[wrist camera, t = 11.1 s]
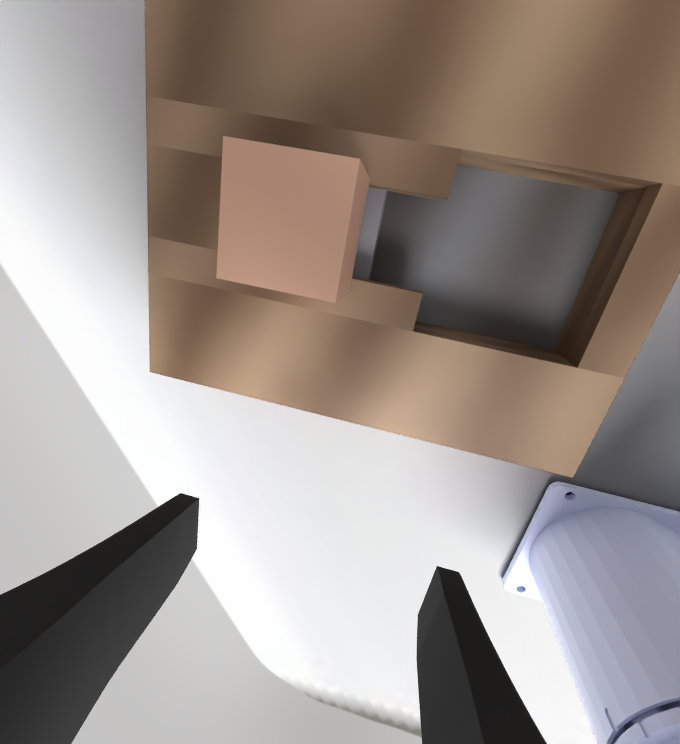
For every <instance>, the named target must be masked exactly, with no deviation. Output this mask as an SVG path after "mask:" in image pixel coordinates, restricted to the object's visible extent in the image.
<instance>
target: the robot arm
mask: <svg viewBox="0 0 680 744" xmlns="http://www.w3.org/2000/svg"><path fill="white" fill-rule="evenodd" d="M568 492H572V493H571V494H570V495H565V494H566V493H568ZM198 513H199V498H195V497H192V496H188V495H185V494H181V493H180V494H178V495H177V496H175V497H173V498H172V499H170V500H169V501H167V502H165V503H164V504H162V505H161V506H159V507H158V508H156V509H154V510H153V511H151V512H150V513H148V514H146V515H145V516H143V517H142V518H140V519H138V520H137V521H135V522H134V523H132V524H130V525H129V526H127V527H125V528H124V529H123V530H121V531H119V532H117V533H116V534H114V535H112V536H111V537H109V538H107V539H106V540H104V541H103V542H101V543H99V544H97V545H96V546H94V547H92V548H90V549H88V550H86V551H85V552H83V553H81V554H79V555H77V556H76V557H74V558H72V559H70V560H69V561H67V562H65V563H63V564H61V565H59V566H57V567H56V568H54V569H52V570H50V571H48V572H46V573H44V574H42V575H40V576H38V577H36V578H34V579H32V580H30V581H28V582H26V583H24V584H22V585H20V586H18V587H16V588H14V589H12V590H10V591H8V592H5V593H3V594H1V595H0V744H71V743H72V741H73V740H74V738H75V736H76V735H77V733H78V731H79V730H80V728H81V726H82V725H83V723H84V721H85V720H86V718H87V716H88V715H89V713H90V711H91V710H92V708H93V706H94V705H95V703H96V701H97V700H98V698H99V696H100V695H101V693H102V691H103V690H104V688H105V687H106V685H107V683H108V682H109V680H110V679H111V677H112V676H113V674H114V673H115V671H116V670H117V668H118V667H119V665H120V664H121V662H122V661H123V660H124V658H125V657H126V656H127V654H128V653H129V651H130V650H131V648H132V647H133V646H134V644H135V642H136V641H137V640H138V638H139V637H140V636H141V634H142V633H143V632H144V630H145V629H146V627H147V626H148V624H149V623H150V622H151V620H152V619H153V617H154V616H155V615H156V613H157V612H158V610H159V609H160V608H161V606H162V605H163V603H164V602H165V600H166V599H167V598H168V596H169V595H170V593H171V592H172V590H173V589H174V588H175V586H176V584H177V583H178V581H179V580H180V578H181V576H182V574H183V573H184V571H185V569H186V567H187V566H188V564H189V562H190V560H191V558H192V557H193V555H194V553H195V551H196V549H197V533H198ZM502 583H503V586H504V589H505V590H506V591H509V592H512V593H515V594H519V595H522V596H526V597H529V598H533V599H536V600H540V601H543V604H544V607H545V609H546V612H547V614H548V617H549V619H550V622H551V625H552V627H553V630H554V632H555V635H556V637H557V640H558V643H559V645H560V648H561V650H562V653H563V655H564V658H565V661H566V663H567V666H568V668H569V671H570V673H571V676H572V679H573V681H574V684H575V686H576V689H577V691H578V694H579V697H580V699H581V702H582V704H583V707H584V709H585V712H586V715H587V717H588V720H589V722H590V725H591V727H592V730H593V733H594V735H595V738H596V740H597V743H598V744H680V512H679V511H675V510H671V509H667V508H663V507H659V506H655V505H651V504H647V503H643V502H639V501H635V500H632V499H628V498H624V497H620V496H616V495H612V494H608V493H604V492H600V491H596V490H592V489H588V488H584V487H580V486H576V485H572V484H568V483H564V482H558V481H557V482H553V483H551V484H550V485H549V486H548V488H547V490H546V492H545V494H544V496H543V498H542V500H541V502H540V504H539V506H538V508H537V510H536V512H535V514H534V516H533V518H532V520H531V523H530V525H529V527H528V529H527V531H526V533H525V535H524V537H523V539H522V541H521V543H520V545H519V547H518V549H517V551H516V553H515V555H514V557H513V559H512V561H511V563H510V565H509V567H508V569H507V571H506V573H505V575H504V577H503V579H502ZM519 586H520V587H519ZM417 672H418V688H419V703H420V717H421V732H422V744H547V743H546V742H545V740H544V738H543V737H542V735H541V733H540V731H539V730H538V728H537V726H536V725H535V723H534V721H533V719H532V718H531V716H530V714H529V712H528V710H527V709H526V707H525V705H524V703H523V701H522V700H521V698H520V696H519V694H518V692H517V691H516V689H515V687H514V685H513V683H512V681H511V679H510V677H509V675H508V674H507V672H506V670H505V668H504V666H503V664H502V662H501V660H500V658H499V656H498V654H497V652H496V650H495V648H494V646H493V644H492V642H491V640H490V638H489V636H488V634H487V632H486V630H485V628H484V625H483V623H482V621H481V619H480V617H479V615H478V613H477V610H476V608H475V606H474V604H473V602H472V599H471V597H470V595H469V593H468V590H467V588H466V586H465V584H464V581H463V579H462V577H461V575H460V573H459V572H456V571H453V570H449V569H445V568H442V567H438V566H437V567H436V570H435V573H434V575H433V578H432V580H431V583H430V585H429V588H428V590H427V593H426V596H425V598H424V601H423V603H422V606H421V608H420V611H419V614H418V627H417Z"/></svg>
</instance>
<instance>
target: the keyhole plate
mask: <svg viewBox="0 0 680 744" xmlns="http://www.w3.org/2000/svg"><path fill="white" fill-rule="evenodd" d="M145 51H146V124H147V198H148V272H149V346H150V372H152V373H156V374H160V375H164V376H168V377H172V378H176V379H180V380H184V381H188V382H192V383H196V384H200V385H204V386H208V387H212V388H216V389H220V390H224V391H228V392H232V393H236V394H240V395H244V396H248V397H252V398H256V399H260V400H264V401H268V402H272V403H276V404H280V405H284V406H288V407H292V408H296V409H300V410H304V411H308V412H312V413H316V414H320V415H324V416H328V417H332V418H336V419H340V420H344V421H348V422H352V423H355V424H359V425H363V426H367V427H371V428H375V429H379V430H383V431H387V432H391V433H395V434H399V435H403V436H407V437H411V438H415V439H419V440H423V441H427V442H431V443H435V444H439V445H443V446H447V447H451V448H455V449H459V450H463V451H467V452H471V453H475V454H479V455H483V456H487V457H491V458H495V459H499V460H503V461H507V462H511V463H515V464H519V465H523V466H527V467H531V468H535V469H539V470H543V471H547V472H551V473H555V474H559V475H563V476H567V477H571V478H573V477H574V475H575V473H576V471H577V469H578V467H579V465H580V463H581V461H582V460H583V458H584V456H585V454H586V452H587V450H588V448H589V446H590V444H591V442H592V440H593V438H594V436H595V434H596V433H597V431H598V429H599V427H600V425H601V423H602V421H603V419H604V417H605V415H606V413H607V411H608V409H609V408H610V406H611V404H612V402H613V400H614V398H615V396H616V394H617V392H618V390H619V388H620V386H621V384H622V382H623V381H624V379H625V377H626V375H627V373H628V371H629V369H630V367H631V365H632V363H633V361H634V359H635V357H636V356H637V354H638V352H639V350H640V348H641V346H642V344H643V342H644V340H645V338H646V336H647V334H648V332H649V330H650V329H651V327H652V325H653V323H654V321H655V319H656V317H657V315H658V313H659V311H660V309H661V307H662V305H663V304H664V302H665V300H666V298H667V296H668V294H669V292H670V290H671V288H672V286H673V284H674V282H675V280H676V278H677V277H678V275H679V273H680V0H145ZM223 136H227V137H233V138H239V139H245V140H251V141H257V142H263V143H269V144H275V145H281V146H287V147H293V148H299V149H305V150H311V151H317V152H323V153H329V154H335V155H341V156H347V157H353V158H359V159H361V161H362V163H363V165H364V167H365V169H366V171H367V173H368V175H369V177H370V182H369V187H370V188H375V189H381V190H386V191H388V193H387V198H386V203H385V208H384V213H383V218H382V223H381V227H380V232H379V237H378V242H377V247H376V252H375V257H374V262H373V267H372V272H371V277H370V280H366V279H361V278H357V277H352V280H351V285H350V291H349V292H348V293H347V294H346V295H345V296H344V297H342V298H341V299H340V300H339V301H337V302H336V303H333V302H328V301H323V300H318V299H314V298H309V297H304V296H299V295H294V294H290V293H285V292H280V291H275V290H271V289H266V288H261V287H256V286H252V285H247V284H242V283H237V282H233V281H228V280H223V279H218V278H216V276H217V255H218V234H219V213H220V192H221V171H222V150H223Z"/></svg>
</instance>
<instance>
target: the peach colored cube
mask: <svg viewBox="0 0 680 744" xmlns="http://www.w3.org/2000/svg"><path fill="white" fill-rule="evenodd" d="M369 182H370V177H369V175H368V173H367V171H366V169H365V167H364V165H363V163H362V161H361V159H359V158H353V157H347V156H341V155H335V154H329V153H323V152H317V151H311V150H305V149H299V148H293V147H287V146H281V145H275V144H269V143H263V142H257V141H251V140H245V139H239V138H233V137H227V136H223V150H222V171H221V192H220V213H219V234H218V255H217V276H216V278H218V279H223V280H228V281H233V282H237V283H242V284H247V285H252V286H256V287H261V288H266V289H271V290H275V291H280V292H285V293H290V294H294V295H299V296H304V297H309V298H314V299H318V300H323V301H328V302H333V303H336V302H337V301H339V300H340V299H341V298H342V297H344V296H345V295H346V294H347V293H348V292H349V291H350V285H351V280H352V277H357V278H361V279H366V280H370V277H371V272H372V267H373V262H374V257H375V252H376V247H377V242H378V237H379V232H380V227H381V223H382V218H383V213H384V208H385V203H386V198H387V193H388V191H386V190H381V189H375V188H370V187H369Z"/></svg>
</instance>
